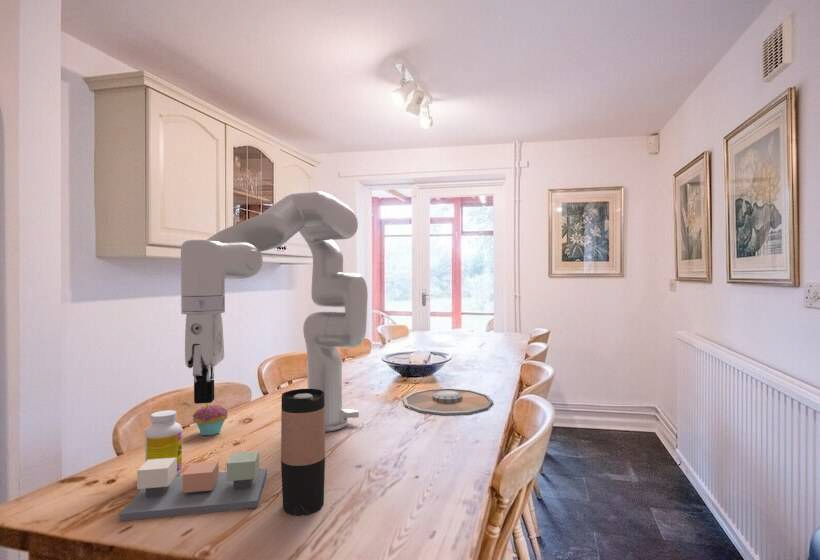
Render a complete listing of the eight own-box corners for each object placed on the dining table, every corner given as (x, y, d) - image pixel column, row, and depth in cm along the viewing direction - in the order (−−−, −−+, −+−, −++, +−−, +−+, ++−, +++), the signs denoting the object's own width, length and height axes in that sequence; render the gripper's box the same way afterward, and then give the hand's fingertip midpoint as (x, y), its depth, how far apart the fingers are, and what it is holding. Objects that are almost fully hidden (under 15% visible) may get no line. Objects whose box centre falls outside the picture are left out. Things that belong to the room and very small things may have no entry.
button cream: (176, 474, 85) (176, 457, 85) (167, 486, 80) (167, 468, 80) (148, 477, 84) (148, 459, 84) (137, 489, 79) (137, 470, 79)
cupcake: (214, 439, 113) (214, 392, 113) (185, 437, 115) (185, 390, 115) (234, 428, 122) (234, 384, 122) (206, 426, 123) (206, 383, 123)
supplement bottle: (183, 477, 91) (183, 414, 91) (146, 485, 87) (145, 420, 88) (180, 465, 97) (179, 406, 97) (144, 473, 93) (144, 411, 93)
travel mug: (285, 496, 83) (285, 388, 83) (327, 494, 83) (327, 387, 83) (277, 518, 75) (276, 399, 75) (322, 515, 76) (322, 398, 76)
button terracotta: (218, 478, 86) (218, 461, 86) (212, 490, 81) (212, 472, 81) (190, 480, 85) (190, 463, 85) (182, 492, 80) (182, 474, 80)
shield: (409, 381, 165) (491, 384, 160) (409, 390, 165) (491, 393, 160) (394, 404, 135) (494, 408, 130) (394, 415, 135) (494, 419, 130)
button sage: (258, 467, 88) (258, 451, 88) (255, 478, 83) (255, 461, 83) (232, 470, 87) (232, 453, 87) (226, 481, 82) (226, 463, 82)
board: (267, 474, 92) (267, 457, 92) (257, 507, 78) (257, 488, 79) (151, 484, 88) (151, 466, 88) (119, 521, 74) (119, 500, 74)
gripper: (215, 307, 78) (216, 412, 78) (232, 303, 92) (233, 391, 92) (168, 308, 76) (169, 415, 76) (193, 303, 91) (194, 393, 91)
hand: (204, 401), depth 84 cm, fingers closed
